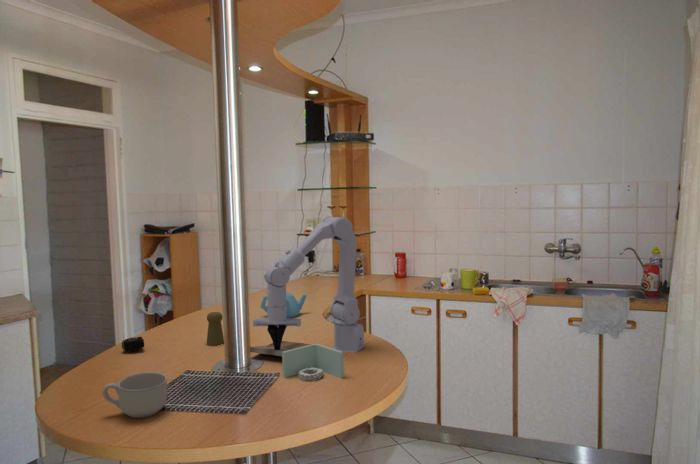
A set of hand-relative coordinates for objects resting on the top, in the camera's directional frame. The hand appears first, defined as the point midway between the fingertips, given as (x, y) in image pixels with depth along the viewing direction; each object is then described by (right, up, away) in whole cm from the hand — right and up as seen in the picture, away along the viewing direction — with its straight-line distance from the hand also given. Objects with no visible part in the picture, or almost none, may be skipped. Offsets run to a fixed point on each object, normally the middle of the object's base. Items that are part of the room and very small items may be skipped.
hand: (277, 349), depth 159 cm
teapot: (-6, 0, +61) cm, 62 cm away
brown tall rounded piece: (-24, -3, +19) cm, 31 cm away
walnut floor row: (+5, -3, +10) cm, 11 cm away
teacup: (-27, -6, -39) cm, 48 cm away
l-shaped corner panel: (+12, -5, -16) cm, 21 cm away
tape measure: (-46, -3, +12) cm, 48 cm away
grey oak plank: (+1, -2, +2) cm, 3 cm away
